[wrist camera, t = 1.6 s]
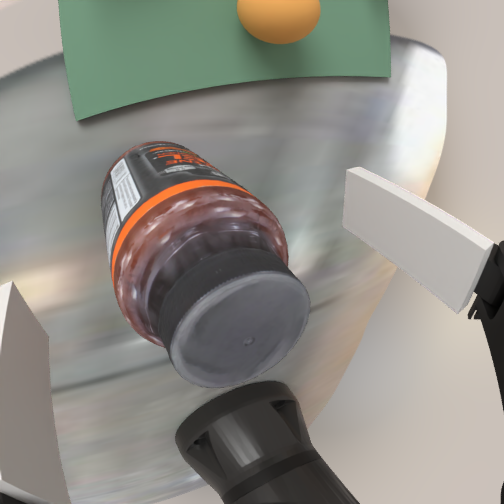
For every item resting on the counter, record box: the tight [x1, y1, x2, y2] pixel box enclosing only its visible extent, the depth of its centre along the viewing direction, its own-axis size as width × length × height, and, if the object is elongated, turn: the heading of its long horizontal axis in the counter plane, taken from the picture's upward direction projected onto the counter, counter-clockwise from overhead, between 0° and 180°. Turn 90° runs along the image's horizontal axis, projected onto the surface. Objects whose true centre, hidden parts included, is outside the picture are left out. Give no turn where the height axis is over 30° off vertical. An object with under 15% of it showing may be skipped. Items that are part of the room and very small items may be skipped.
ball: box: [237, 0, 321, 44], centre depth 11 cm, size 4×4×4 cm
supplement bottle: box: [101, 141, 310, 388], centre depth 12 cm, size 6×6×11 cm
